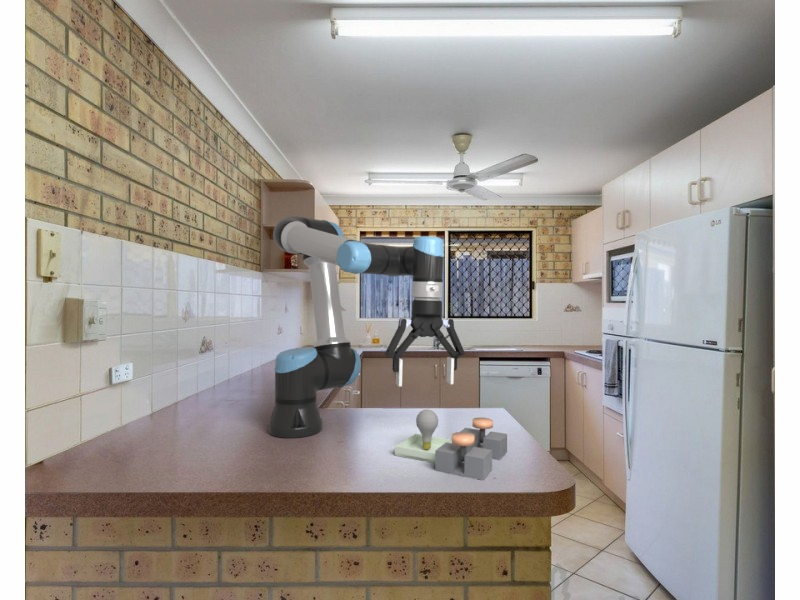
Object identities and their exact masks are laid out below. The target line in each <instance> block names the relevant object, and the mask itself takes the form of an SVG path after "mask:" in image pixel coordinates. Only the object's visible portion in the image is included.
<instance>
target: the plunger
mask: <svg viewBox="0 0 800 600" xmlns="http://www.w3.org/2000/svg"><path fill="white" fill-rule="evenodd" d="M451 440H452V443H453V444H455V445H458V446H460V461H462V462H464V463H465V455H466V446H471V445H474V443H475V436H474V435H473V434H470V433H465V432H460V431H459V432H454V433H452V434H451Z"/></svg>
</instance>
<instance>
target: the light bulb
mask: <svg viewBox="0 0 800 600" xmlns="http://www.w3.org/2000/svg"><path fill="white" fill-rule="evenodd" d="M415 423H416V427H417V428H418V430H419V432H420V435H422V441H423V446H422V447H423V448H424V449H425V450H428V449H430V448H431V441H432V437H433V434H434V432H435V431H436V429H437V428H438V424H439V418H438V416H437V414H436V412H435V411H434V410H432V409H422V410H421V411H419V412H418V414H417V416H416V420H415Z"/></svg>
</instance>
